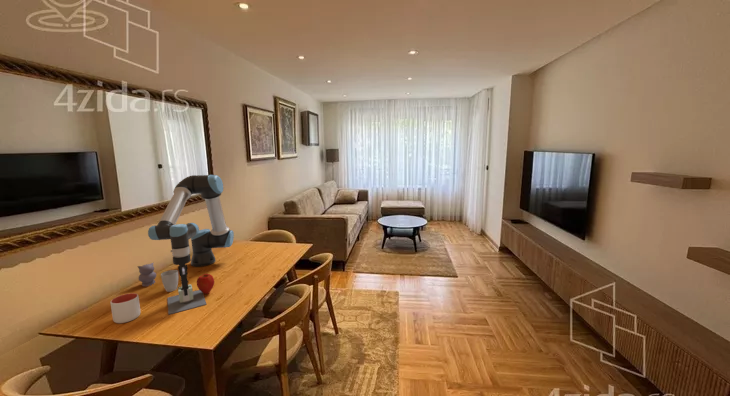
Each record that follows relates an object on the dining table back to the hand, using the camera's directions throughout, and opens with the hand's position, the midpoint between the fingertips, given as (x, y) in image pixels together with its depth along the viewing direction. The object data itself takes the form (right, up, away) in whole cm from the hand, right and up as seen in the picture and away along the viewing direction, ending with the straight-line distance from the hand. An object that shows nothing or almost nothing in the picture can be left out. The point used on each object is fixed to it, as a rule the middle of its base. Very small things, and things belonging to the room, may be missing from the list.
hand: (186, 298), depth 151 cm
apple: (+6, -1, +9) cm, 11 cm away
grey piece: (0, -2, 0) cm, 2 cm away
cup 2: (-17, 0, +14) cm, 22 cm away
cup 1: (-18, -5, -15) cm, 24 cm away
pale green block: (0, 0, 0) cm, 0 cm away
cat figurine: (-35, +1, +22) cm, 41 cm away
